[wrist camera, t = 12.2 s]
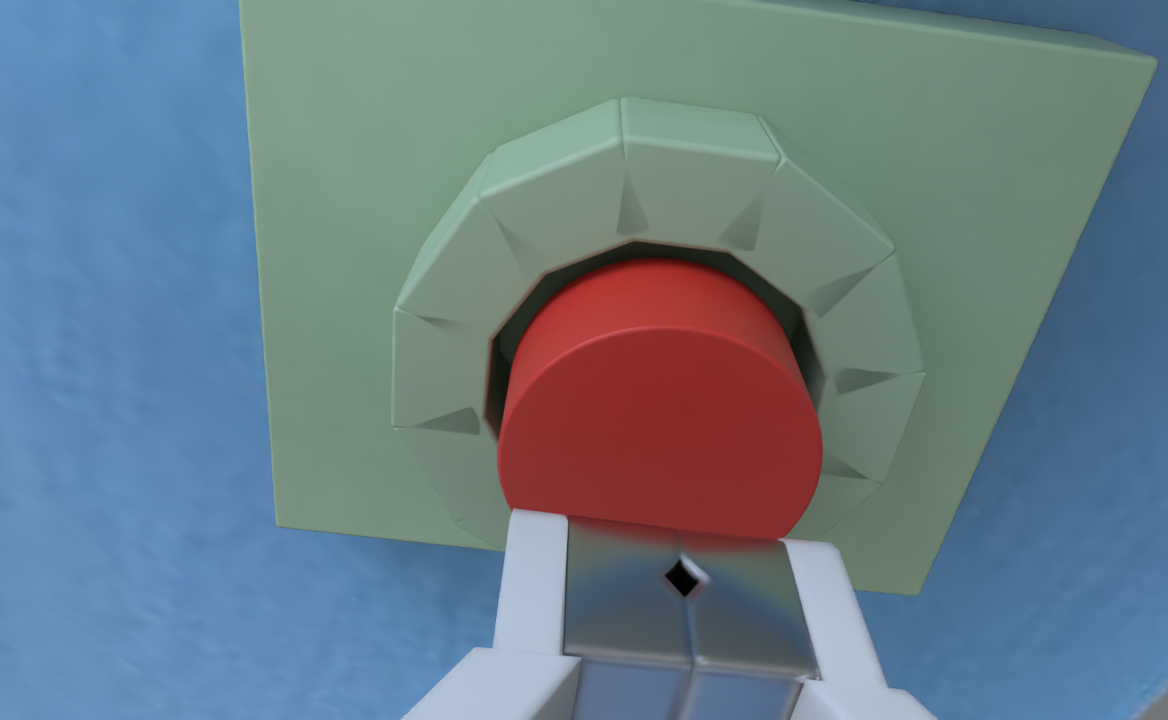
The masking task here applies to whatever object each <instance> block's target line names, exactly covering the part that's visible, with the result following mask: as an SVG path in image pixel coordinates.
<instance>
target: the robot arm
mask: <svg viewBox="0 0 1168 720" xmlns="http://www.w3.org/2000/svg"><path fill="white" fill-rule="evenodd" d="M400 720H938V719H937V718H936V717H935V716H934V715H933V714H932V713H931V712H930V711H929V710H928V709H927V708H926V707H924V706H923V705H922V704H921V703H920V702H919V701H918V700H917V699H916V698H915V697H914V696H913V695H912V694H910V693H909V692H908V691H907V690H902V689H894V688H889V685H888V683H887V680H886V677H885V674H884V672H883V669H882V666H881V663H880V661H879V658H878V655H877V652H876V649H875V647H874V644H873V641H872V638H871V636H870V633H869V630H868V627H867V625H866V622H865V619H864V616H863V614H862V611H861V608H860V605H859V602H858V600H857V597H856V594H855V591H854V589H853V586H852V583H851V580H850V578H849V575H848V572H847V569H846V566H845V564H844V561H843V558H842V555H841V553H840V550H839V549H838V548H837V547H836V546H835V545H834V544H833V543H831V542H819V541H808V540H796V539H785V538H778V539H777V540H776V539H773V538H763V537H753V536H744V535H734V534H724V533H714V532H704V531H694V530H684V529H675V528H668V527H660V526H652V525H645V524H637V523H630V522H622V521H614V520H607V519H599V518H592V517H584V516H576V515H569V516H568V519H567V517H566V515H562V514H554V513H546V512H539V511H531V510H523V509H515V508H513V511H512V514H511V517H510V522H509V529H508V537H507V544H506V552H505V559H504V567H503V574H502V582H501V589H500V596H499V604H498V611H497V619H496V626H495V634H494V641H493V648H482V647H474V648H473V649H472V650H471V651H470V652H469V653H468V654H467V655H466V656H465V657H464V658H463V659H462V660H461V661H460V662H459V663H458V664H457V665H456V666H455V667H454V668H453V669H452V670H451V671H450V672H449V673H448V674H447V675H446V676H445V677H444V678H443V679H442V680H441V681H439V682H438V683H437V684H436V685H435V686H434V687H433V688H432V689H431V690H430V691H429V692H428V693H427V694H426V695H425V696H424V697H423V698H422V699H421V700H420V701H419V702H418V703H417V704H416V705H415V706H414V707H413V708H412V709H411V710H410V711H409V712H408V713H407V714H406V715H405V716H404V717H403V718H402V719H400Z"/></svg>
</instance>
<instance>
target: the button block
mask: <svg viewBox="0 0 1168 720" xmlns="http://www.w3.org/2000/svg"><path fill="white" fill-rule="evenodd" d="M239 14H240V28H241V42H242V56H243V70H244V84H245V98H246V112H247V126H248V139H249V153H250V167H251V181H252V195H253V209H254V223H255V237H256V251H257V265H258V279H259V293H260V307H261V321H262V335H263V349H264V363H265V377H266V391H267V405H268V419H269V433H270V447H271V461H272V475H273V489H274V503H275V517H276V525H277V526H278V527H281V528H290V529H299V530H308V531H317V532H327V533H336V534H345V535H354V536H364V537H373V538H382V539H391V540H400V541H410V542H419V543H428V544H437V545H447V546H456V547H465V548H474V549H483V550H493V551H502V552H504V553H505V552H506V544H507V537H508V529H509V522H510V517H511V514H512V512H511V510H510V508H509V506H508V504H507V502H506V500H505V497H504V494H503V491H502V488H501V485H500V481H499V474H498V468H497V448H498V442H499V436H500V431H501V425H502V420H503V414H504V408H505V403H506V397H507V392H508V386H509V380H510V375H511V369H512V364H513V358H514V354H515V351H516V348H517V345H518V342H519V339H520V338H521V336H522V334H523V332H524V330H525V328H526V326H527V324H528V323H529V321H530V320H531V319H532V317H533V316H534V314H535V313H536V312H537V310H538V309H539V308H540V307H541V306H542V305H543V304H544V303H545V302H546V301H547V300H548V299H549V298H550V297H551V296H552V295H554V294H555V293H556V292H557V291H559V290H560V289H561V288H562V287H564V286H565V285H567V284H568V283H570V282H572V281H573V280H575V279H577V278H578V277H580V276H582V275H584V274H586V273H589V272H591V271H593V270H595V269H598V268H600V267H604V266H607V265H610V264H613V263H617V262H622V261H627V260H633V259H642V258H670V259H680V260H685V261H690V262H696V263H699V264H702V265H705V266H709V267H712V268H715V269H717V270H719V271H721V272H723V273H726V274H728V275H730V276H732V277H734V278H735V279H737V280H738V281H740V282H741V283H743V284H744V285H746V286H747V287H749V288H750V289H751V290H752V291H753V292H755V293H756V294H757V295H758V296H759V297H760V298H762V300H763V301H764V302H765V303H766V304H767V305H768V307H769V308H770V309H771V310H772V311H773V312H774V314H775V316H776V317H777V319H778V320H779V322H780V324H781V325H782V327H783V329H784V332H785V334H786V336H787V339H788V341H789V343H790V346H791V349H792V351H793V354H794V356H795V359H796V361H797V364H798V367H799V369H800V372H801V374H802V377H803V380H804V382H805V385H806V387H807V390H808V392H809V395H810V398H811V400H812V403H813V405H814V408H815V411H816V413H817V416H818V419H819V423H820V427H821V431H822V439H823V461H822V470H821V473H820V477H819V481H818V485H817V488H816V490H815V493H814V495H813V497H812V500H811V502H810V504H809V506H808V507H807V509H806V511H805V512H804V514H803V515H802V517H801V519H800V520H799V521H798V522H797V523H796V525H795V526H794V527H793V528H792V530H791V531H790V532H789V533H788V534H787V535H786V536H785V537H784V538H785V539H796V540H808V541H819V542H831V543H833V544H834V545H835V546H836V547H837V548H838V549H839V550H840V553H841V555H842V558H843V561H844V564H845V566H846V569H847V572H848V575H849V578H850V580H851V583H852V586H853V589H854V590H862V591H871V592H880V593H889V594H899V595H908V596H917V595H919V593H920V591H921V589H922V587H923V584H924V582H925V580H926V578H927V576H928V573H929V571H930V569H931V567H932V565H933V562H934V560H935V558H936V556H937V553H938V551H939V549H940V547H941V545H942V542H943V540H944V538H945V536H946V534H947V531H948V529H949V527H950V525H951V522H952V520H953V518H954V516H955V514H956V511H957V509H958V507H959V505H960V503H961V500H962V498H963V496H964V494H965V492H966V489H967V487H968V485H969V483H970V480H971V478H972V476H973V474H974V472H975V469H976V467H977V465H978V463H979V461H980V458H981V456H982V454H983V452H984V449H985V447H986V445H987V443H988V441H989V438H990V436H991V434H992V432H993V430H994V427H995V425H996V423H997V421H998V419H999V416H1000V414H1001V412H1002V410H1003V407H1004V405H1005V403H1006V401H1007V399H1008V396H1009V394H1010V392H1011V390H1012V388H1013V385H1014V383H1015V381H1016V379H1017V376H1018V374H1019V372H1020V370H1021V368H1022V365H1023V363H1024V361H1025V359H1026V357H1027V354H1028V352H1029V350H1030V348H1031V346H1032V343H1033V341H1034V339H1035V337H1036V334H1037V332H1038V330H1039V328H1040V326H1041V323H1042V321H1043V319H1044V317H1045V315H1046V312H1047V310H1048V308H1049V306H1050V303H1051V301H1052V299H1053V297H1054V295H1055V292H1056V290H1057V288H1058V286H1059V284H1060V281H1061V279H1062V277H1063V275H1064V273H1065V270H1066V268H1067V266H1068V264H1069V261H1070V259H1071V257H1072V255H1073V253H1074V250H1075V248H1076V246H1077V244H1078V242H1079V239H1080V237H1081V235H1082V233H1083V230H1084V228H1085V226H1086V224H1087V222H1088V219H1089V217H1090V215H1091V213H1092V211H1093V208H1094V206H1095V204H1096V202H1097V200H1098V197H1099V195H1100V193H1101V191H1102V188H1103V186H1104V184H1105V182H1106V180H1107V177H1108V175H1109V173H1110V171H1111V169H1112V166H1113V164H1114V162H1115V160H1116V157H1117V155H1118V153H1119V151H1120V149H1121V146H1122V144H1123V142H1124V140H1125V138H1126V135H1127V133H1128V131H1129V129H1130V126H1131V124H1132V122H1133V120H1134V118H1135V115H1136V113H1137V111H1138V109H1139V107H1140V104H1141V102H1142V100H1143V98H1144V96H1145V93H1146V91H1147V89H1148V87H1149V84H1150V82H1151V80H1152V78H1153V76H1154V73H1155V71H1156V69H1157V67H1158V60H1157V59H1156V58H1154V57H1152V56H1149V55H1147V54H1144V53H1141V52H1138V51H1135V50H1133V49H1130V48H1127V47H1124V46H1121V45H1119V44H1116V43H1113V42H1110V41H1107V40H1105V39H1102V38H1099V37H1096V36H1093V35H1091V34H1084V33H1077V32H1070V31H1063V30H1056V29H1049V28H1042V27H1035V26H1028V25H1021V24H1014V23H1007V22H1000V21H993V20H986V19H978V18H971V17H964V16H957V15H950V14H943V13H936V12H929V11H922V10H915V9H908V8H901V7H894V6H887V5H880V4H873V3H866V2H859V1H852V0H239Z"/></svg>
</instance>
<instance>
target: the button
mask: <svg viewBox="0 0 1168 720" xmlns="http://www.w3.org/2000/svg"><path fill="white" fill-rule="evenodd" d="M822 461H823V439H822V431H821V427H820V423H819V419H818V416H817V413H816V411H815V408H814V405H813V403H812V400H811V398H810V395H809V392H808V390H807V387H806V385H805V382H804V380H803V377H802V374H801V372H800V369H799V367H798V364H797V361H796V359H795V356H794V354H793V351H792V349H791V346H790V343H789V341H788V339H787V336H786V334H785V332H784V329H783V327H782V325H781V324H780V322H779V320H778V319H777V317H776V316H775V314H774V312H773V311H772V310H771V309H770V308H769V307H768V305H767V304H766V303H765V302H764V301H763V300H762V298H760V297H759V296H758V295H757V294H756V293H755V292H753V291H752V290H751V289H750V288H749V287H747V286H746V285H744V284H743V283H741V282H740V281H738V280H737V279H735V278H734V277H732V276H730V275H728V274H726V273H723V272H721V271H719V270H717V269H715V268H712V267H709V266H705V265H702V264H699V263H696V262H690V261H685V260H680V259H670V258H642V259H633V260H627V261H622V262H617V263H613V264H610V265H607V266H604V267H600V268H598V269H595V270H593V271H591V272H589V273H586V274H584V275H582V276H580V277H578V278H577V279H575V280H573V281H572V282H570V283H568V284H567V285H565V286H564V287H562V288H561V289H560V290H559V291H557V292H556V293H555V294H554V295H552V296H551V297H550V298H549V299H548V300H547V301H546V302H545V303H544V304H543V305H542V306H541V307H540V308H539V309H538V310H537V312H536V313H535V314H534V316H533V317H532V319H531V320H530V321H529V323H528V324H527V326H526V328H525V330H524V332H523V334H522V336H521V338H520V339H519V342H518V345H517V348H516V351H515V354H514V358H513V364H512V369H511V375H510V380H509V386H508V392H507V397H506V403H505V408H504V414H503V420H502V425H501V431H500V436H499V442H498V448H497V468H498V474H499V481H500V485H501V488H502V491H503V494H504V497H505V500H506V502H507V504H508V506H509V508H510V510H511V512H512V511H513V508H515V509H523V510H531V511H539V512H546V513H554V514H562V515H566V517H567V519H568V516H569V515H576V516H584V517H592V518H599V519H607V520H614V521H622V522H630V523H637V524H645V525H652V526H660V527H668V528H675V529H684V530H694V531H704V532H714V533H724V534H734V535H744V536H753V537H763V538H773V539H776V540H777V539H778V538H784V537H785V536H786V535H787V534H788V533H789V532H790V531H791V530H792V528H793V527H794V526H795V525H796V523H797V522H798V521H799V520H800V519H801V517H802V515H803V514H804V512H805V511H806V509H807V507H808V506H809V504H810V502H811V500H812V497H813V495H814V493H815V490H816V488H817V485H818V481H819V477H820V473H821V470H822Z"/></svg>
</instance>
